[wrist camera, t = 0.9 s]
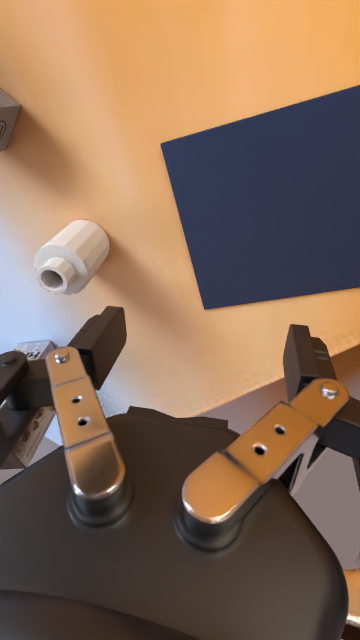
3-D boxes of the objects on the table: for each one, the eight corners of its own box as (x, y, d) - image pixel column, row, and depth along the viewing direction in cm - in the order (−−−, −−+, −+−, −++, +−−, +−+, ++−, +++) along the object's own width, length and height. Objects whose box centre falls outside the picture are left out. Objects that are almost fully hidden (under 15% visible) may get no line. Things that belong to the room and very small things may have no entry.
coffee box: (17, 343, 51) (-56, 429, 39) (51, 339, 50) (-12, 428, 37) (43, 382, 56) (-14, 471, 44) (75, 380, 55) (27, 471, 42)
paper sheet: (160, 143, 32) (160, 143, 32) (388, 76, 27) (389, 76, 26) (204, 308, 43) (204, 309, 42) (372, 284, 37) (372, 285, 37)
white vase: (56, 224, 38) (12, 259, 31) (99, 214, 37) (63, 248, 29) (77, 267, 41) (41, 308, 34) (117, 259, 40) (89, 300, 32)
